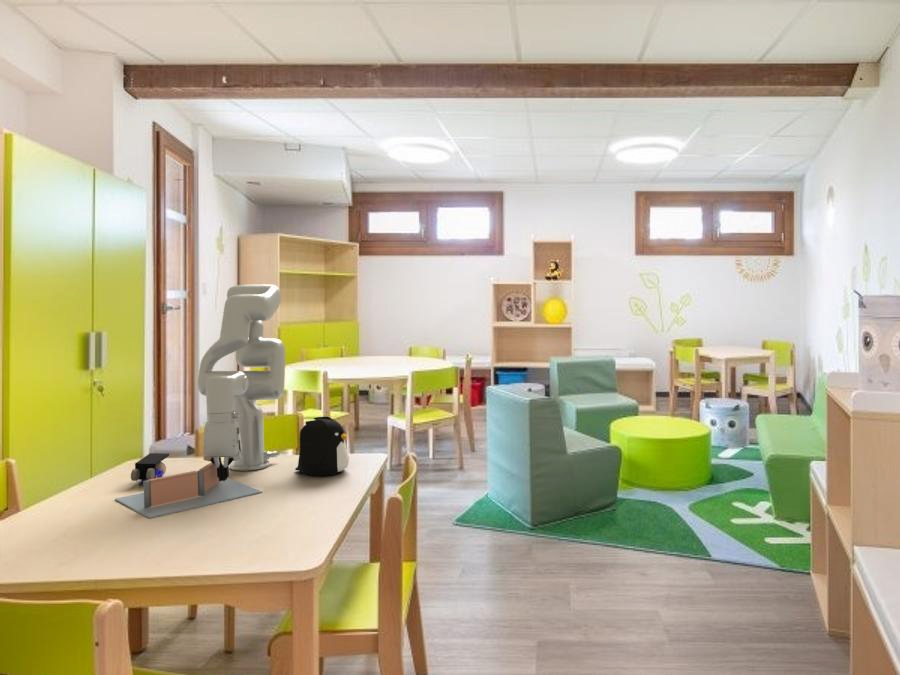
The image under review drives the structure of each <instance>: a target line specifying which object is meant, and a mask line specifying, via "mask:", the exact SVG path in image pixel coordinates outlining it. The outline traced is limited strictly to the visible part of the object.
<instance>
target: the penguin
mask: <svg viewBox="0 0 900 675" xmlns="http://www.w3.org/2000/svg"><path fill="white" fill-rule="evenodd" d="M347 437H349V435H347V434H345V429H344V427H343V426H342V425H341V423H339V422H338V421H337V420H336V419H333V418H331V417H329V416H317V417H313V420H308V421H307V420H306V421H305V425H303V427H302V428H301V429H300V431H299V454H298V462H297V467H296V468H295V471H299V472H301V473H302V474H306V475H308V476H317V477H321V476H324V477H326V476H327V477H330V476H335V475H337V474H341V473H342V472H343V471H345V469H347V468H348V466H349V463H350V462H349V461H350V456H349V453H348V450H347V444H346V440H347Z"/></svg>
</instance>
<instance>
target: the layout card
mask: <svg viewBox="0 0 900 675" xmlns="http://www.w3.org/2000/svg"><path fill="white" fill-rule="evenodd" d="M262 493H263V491H262V490H260V489H258V488H255V487H252V486H249V485H246V484H243V483H241V482H238V481H237V480H233V479H231V478H229V477H228V478H227V479H226V480H225V481H221V482H220V483H218V484H217V485H215V486H214V487H212V488H211V489H209V490H208V491H206V492H205V493H204V496H197V497H193V498H188V499H184V500H179V501H174V502H170V503H165V504H161V505H156V506H151V507H148V508H144V492H141V493H135V494H131V495H126V496H125V495H124V496H121V497H116V498H114V501H116V502H118V503H120V504H122V505H123V506H125V507H127V508H129V509H131V510H133V511H135V512H136V513H138V514H141V515H142V516H144V517H146V518H148V519H152V518H153V519H155V518H157V517H161V516H165V515H166V516H167V515H171V514H175V513H179V512H184V511H188V510H192V509H193V510H194V509H197V508H200V507H206V506H209V505H215V504H220V503H224V502H227V501H233V500H236V499H240V498H246V497H249V496H254V495H258V494H262Z"/></svg>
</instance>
